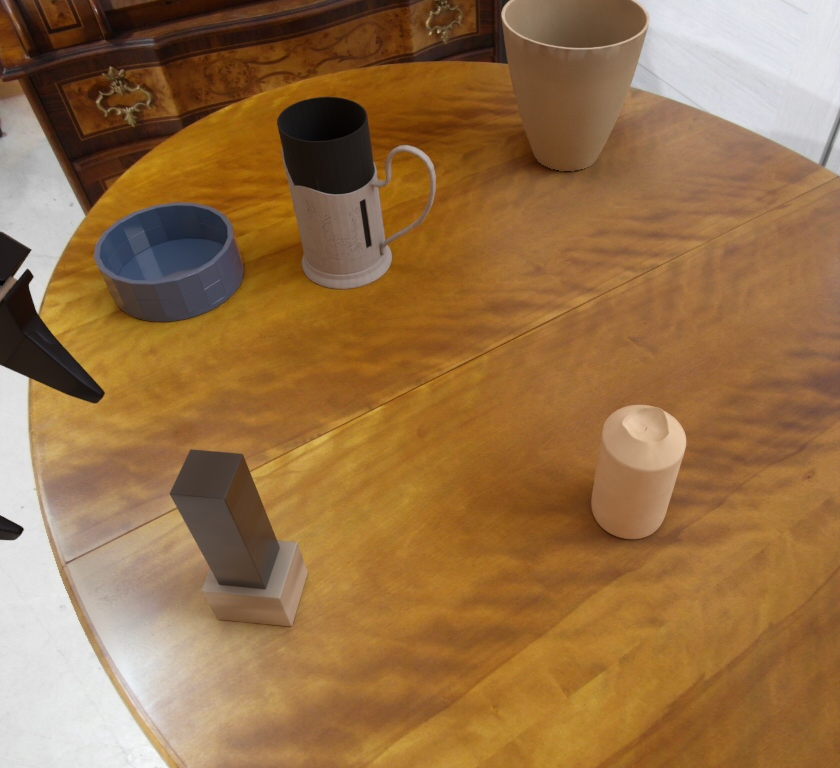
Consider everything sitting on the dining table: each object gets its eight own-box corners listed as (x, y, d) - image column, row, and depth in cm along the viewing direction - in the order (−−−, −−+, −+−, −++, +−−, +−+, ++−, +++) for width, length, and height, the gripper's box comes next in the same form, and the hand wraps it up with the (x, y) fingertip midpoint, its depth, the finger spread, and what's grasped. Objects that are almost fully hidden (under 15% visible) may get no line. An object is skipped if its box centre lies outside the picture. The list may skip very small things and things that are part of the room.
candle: (623, 465, 60) (641, 377, 52) (680, 508, 57) (707, 423, 50) (575, 507, 57) (587, 420, 50) (632, 554, 55) (654, 471, 47)
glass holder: (326, 225, 80) (299, 86, 69) (456, 252, 77) (450, 112, 66) (285, 278, 74) (249, 135, 63) (424, 309, 71) (412, 166, 60)
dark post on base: (217, 619, 51) (146, 500, 40) (237, 565, 54) (176, 440, 43) (292, 627, 51) (240, 508, 40) (308, 572, 53) (263, 447, 43)
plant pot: (514, 115, 95) (517, -22, 84) (634, 130, 94) (655, -8, 82) (487, 182, 85) (486, 37, 74) (621, 200, 84) (642, 54, 72)
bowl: (91, 319, 70) (71, 281, 66) (139, 238, 78) (123, 200, 74) (224, 324, 70) (211, 286, 66) (258, 242, 78) (247, 204, 74)
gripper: (-477, 367, 24) (29, 572, 31) (-102, 81, 36) (196, 277, 44) (-473, 492, 30) (-52, 638, 38) (-154, 212, 43) (114, 363, 50)
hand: (63, 461), depth 42 cm, fingers open, 9 cm apart
